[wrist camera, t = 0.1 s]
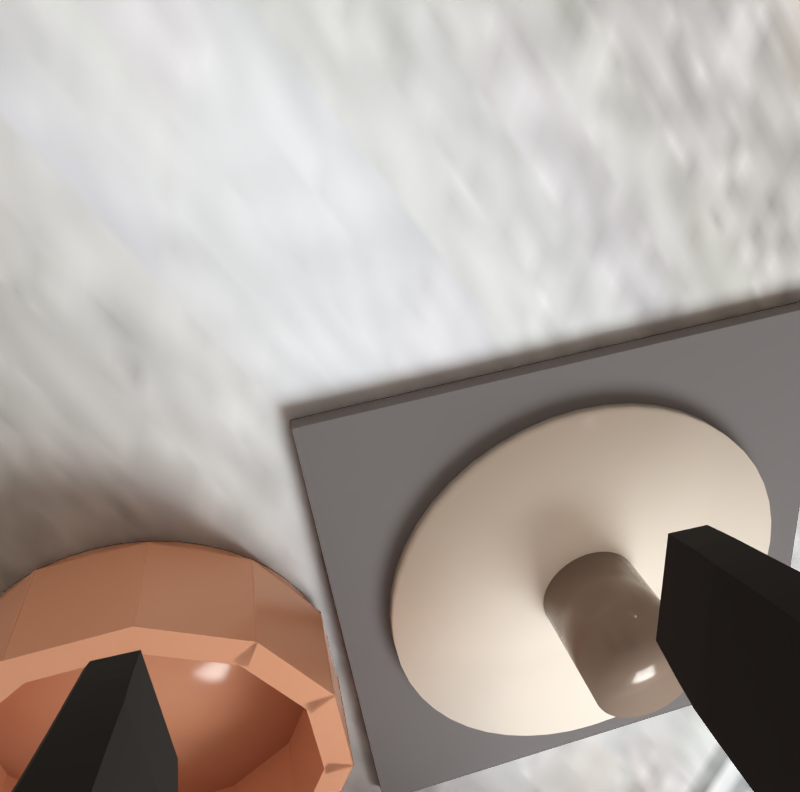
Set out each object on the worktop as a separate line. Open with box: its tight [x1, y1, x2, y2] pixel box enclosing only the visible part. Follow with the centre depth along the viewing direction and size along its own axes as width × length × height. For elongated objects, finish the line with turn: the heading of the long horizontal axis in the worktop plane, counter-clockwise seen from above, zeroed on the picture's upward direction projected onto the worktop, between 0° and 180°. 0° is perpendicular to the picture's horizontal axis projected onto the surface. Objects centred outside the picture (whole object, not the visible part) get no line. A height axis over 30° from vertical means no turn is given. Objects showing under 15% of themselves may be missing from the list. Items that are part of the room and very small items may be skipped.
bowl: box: [0, 541, 354, 792], centre depth 20 cm, size 11×11×4 cm
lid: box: [389, 403, 771, 736], centre depth 21 cm, size 13×13×4 cm
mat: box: [290, 302, 800, 792], centre depth 23 cm, size 16×16×1 cm
